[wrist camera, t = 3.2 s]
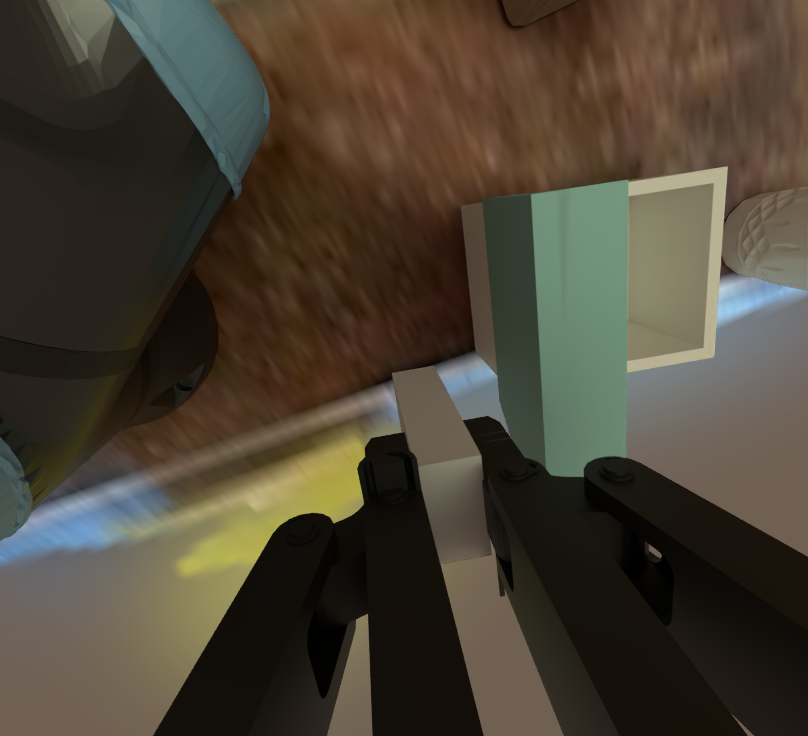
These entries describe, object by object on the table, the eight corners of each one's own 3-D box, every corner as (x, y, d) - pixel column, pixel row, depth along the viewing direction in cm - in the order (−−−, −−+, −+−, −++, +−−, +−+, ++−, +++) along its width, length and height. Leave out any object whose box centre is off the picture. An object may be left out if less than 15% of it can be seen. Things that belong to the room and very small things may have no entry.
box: (475, 351, 40) (512, 392, 31) (460, 205, 37) (498, 202, 27) (630, 324, 41) (714, 357, 32) (632, 179, 37) (727, 166, 28)
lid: (538, 397, 30) (499, 401, 31) (526, 192, 26) (482, 199, 27) (625, 566, 16) (551, 570, 17) (628, 179, 12) (531, 194, 13)
